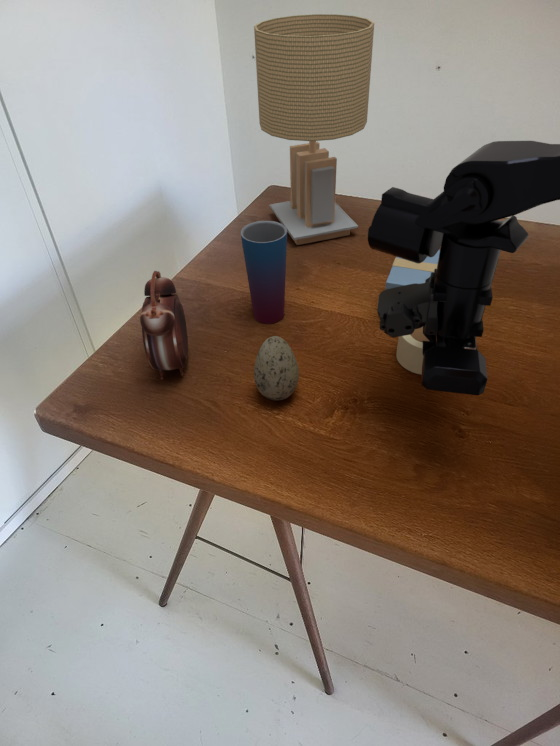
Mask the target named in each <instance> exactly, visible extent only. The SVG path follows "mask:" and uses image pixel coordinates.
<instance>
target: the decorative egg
mask: <svg viewBox="0 0 560 746" xmlns="http://www.w3.org/2000/svg"><path fill="white" fill-rule="evenodd" d="M255 357H256V358H255V361H254V367H253V368H254V369H253V378H254V383H255V386H256V388H257V390H258V391H259V393H260V394H261V395H262V396H263V397H264V398H266V399H267V400H271V401H283V400H286V399H288V398H289V397H291V395H293V393H295V390H296V389H297V387H298V383H299V379H300V374H299V371H300V370H299V365H298V361H297V358H296V356H295V353H294V351H293V349H292V348H291V346H290V345H289V344H288V342H287V341H286V340H285V339H283V338H282V337H281V336H278V335H272V336H270V337H267V339H265V341H263V343H262V344H261V345H260V347H259V349H258V351H257V354H256V356H255Z"/></svg>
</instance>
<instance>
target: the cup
mask: <svg viewBox="0 0 560 746" xmlns="http://www.w3.org/2000/svg"><path fill="white" fill-rule="evenodd" d="M240 238H241V239H240V240H241V244H242V252H243V258H244V263H245V270H246V277H247V282H248V283H247V284H248V288H249V289H248V290H249V294H250V301H251V307H252V314H253V317H254V320H255V321H257V322H259V323H261V324H266V325H270V324H275V323H278V322H280V321H282V320H283V319H284V317H285V298H286V274H287V273H286V271H287V246H288V232H287V228H286V227H285V226H284V225H283V224H281V222H278V221H274V220H258V221H253V222H250V223H248V224H246V225H244V226H243V227H242V228H241V229H240Z"/></svg>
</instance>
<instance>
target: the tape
mask: <svg viewBox="0 0 560 746" xmlns="http://www.w3.org/2000/svg"><path fill="white" fill-rule="evenodd" d="M423 341H429V340H428V339H427V338H426V337H425V335H424V334H423V327H421V328H419V329H415V331H414V332H413V333H412V334H411V335H405V336H399V337H397V346H396V352H395V356H396V360H397V362H398V363H399V364H400V365H401V367H402V368H404V369H405V370H407V371H408V372H411V373H414V374H417V375H421V376H422V363H423V353H422V351H423Z"/></svg>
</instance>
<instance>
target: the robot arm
mask: <svg viewBox="0 0 560 746" xmlns="http://www.w3.org/2000/svg"><path fill="white" fill-rule="evenodd" d="M380 199H381V200H380V205H379V206H378V207H377V209H376V211H375V212H374V215H373V218H372V221H371V224H370V226H369V227H368V230H367V242H368V246H369V248H370V249H372V250H374V251H377V252H381V253H384V254H387V255H389V256H392V257H395V258H396V257H399V258H402V259H405V260H408V261H411V262H414V263H421V262H423V261H424V260H425V259H426V258H427V256H428V257H433V256H435V254H436V253H437V252H438V250H440V254H439V259H438V264H437V269H434V272H431V275H430V277H429V278H428V279H426V280H425V283H421V284H417V283H415V284H409V285H404V286H400V287H395V288H390V289H386V290H385V289H384V290H382V291H381V292H379V294H378V299H377V307H376V312H377V314H378V317H379V330H380V331H383V332H384V334H385V335H387V336H389V337H391V338H399V336H405V335H411V334H412V333H413V332H414V331H415V329H419V328H421V327H423V334H424V335H425V337H426V338H427V339H428V340H429V341H423V351H422V353H423V363H422V375H421V386H422V387H423V388H424V389H425V390H427V391H433V392H434V391H436V392H442V393H443V392H445V393H453V394H459V395H460V394H462V395H469V396H480V395H482V394H484V392H485V389H486V385H487V384H488V369H487V361H486V357H485V356H484V355H483V354H482V352H480V350H478V346H477V338H483V337H482V336H483V334H484V331H485V330H484V329H485V328H484V321H483V320H484V319H483V318H484V313H485V310H486V307H491V305H492V301H493V299H494V298H493V297H494V295H493V291H492V285H493V280H494V277H495V274H496V270H497V266H498V262H499V258H500V255H501V251H503V252H506V253H510V254H515V253H516V252H517V251H518V249H519V248H520V247H521V246H522V245H523V244H524V243H525V242H526V240H527V239H528V238H529V236H530V235H529V232H528V231H527V230H526V229H525V227H524V226H523V225H522V224H520V223H519V221H518V218H517V216H516V215H518V214H519V215H520V214H521V213H524V212H526V211H529V210H532V209H533V208H536V207H539V206H542V205H544V204H548V203H552V202H555V201H560V143H548V142H542V141H536V140H497V141H491V142H488V143H486V144H484V145H482V146H481V147H479V148H478V149H477V150H475V151H474V152H473V153H472V154H470V155H468V156H467V157H466V158H464V159H463V160H462V161H461V162H460V163H458V164H457V165H456V166H454V167H453V168H452V169H451V170H450V172H449V173H448V175H447V176H446V177H445V181H444V183H443V191H442V192H441V193H440V194H438V195H437V196H435V198H431V197H427V196H422V195H420V194H419V195H418V194H414V193H411V192H408V191H406V190H404V189H401V188H398V187H394V186H392V187H390V188H388V189H387V190H386V191H385V192H383V193H382V194H381V198H380ZM503 219H505V220H503Z"/></svg>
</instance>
